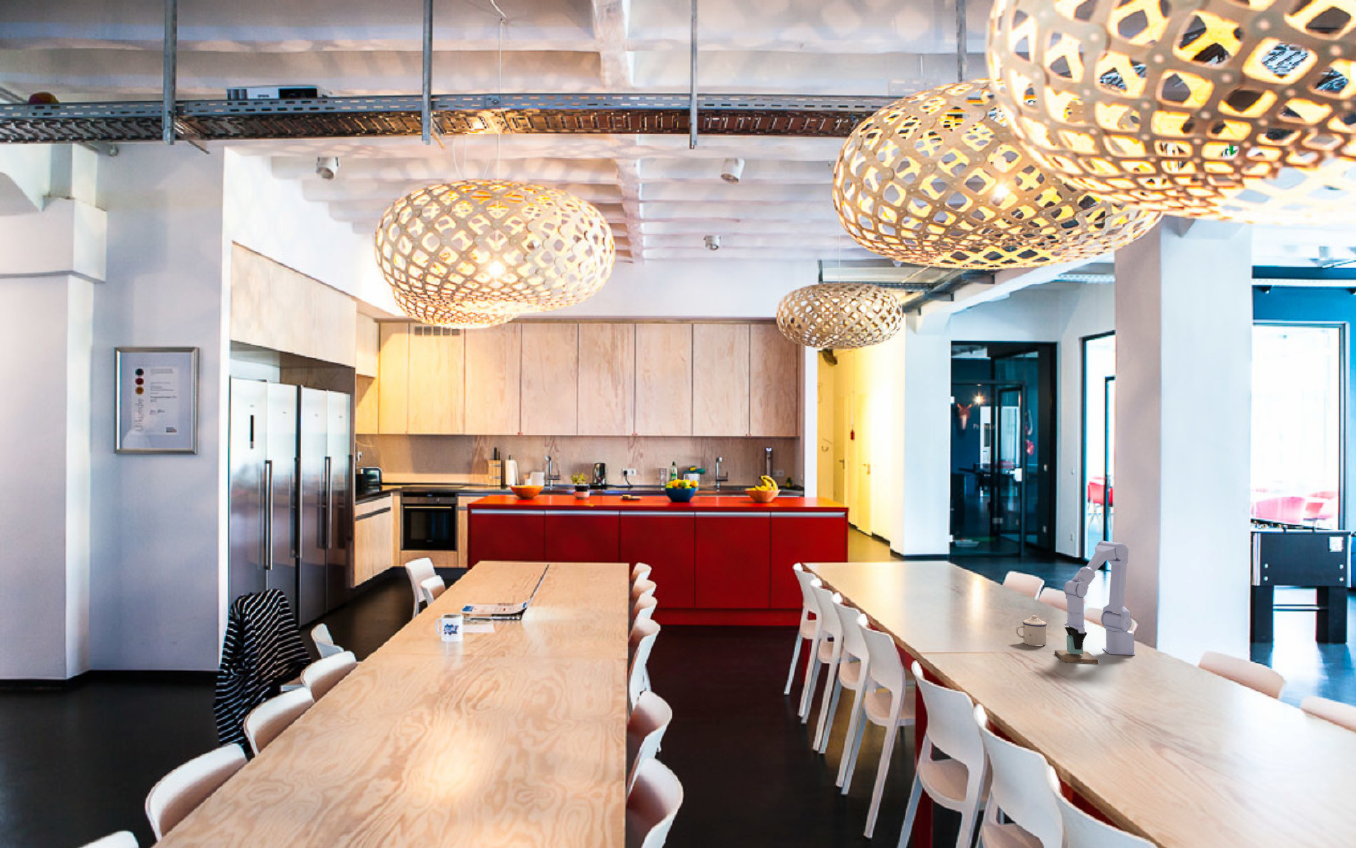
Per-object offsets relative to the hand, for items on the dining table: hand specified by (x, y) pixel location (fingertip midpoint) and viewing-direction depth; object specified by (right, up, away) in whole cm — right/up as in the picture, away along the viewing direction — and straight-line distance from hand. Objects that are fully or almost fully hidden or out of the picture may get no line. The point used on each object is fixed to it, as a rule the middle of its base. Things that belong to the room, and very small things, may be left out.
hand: (1075, 647), depth 303 cm
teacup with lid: (-7, -5, +22) cm, 24 cm away
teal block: (0, -2, 0) cm, 2 cm away
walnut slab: (0, -4, 0) cm, 4 cm away
